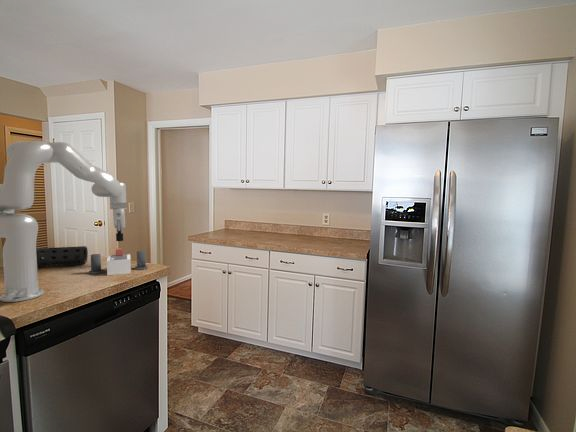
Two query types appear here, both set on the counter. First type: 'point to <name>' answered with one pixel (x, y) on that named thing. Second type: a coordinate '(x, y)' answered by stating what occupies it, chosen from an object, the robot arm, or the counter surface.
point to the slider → (119, 252)
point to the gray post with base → (95, 264)
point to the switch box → (118, 264)
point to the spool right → (141, 261)
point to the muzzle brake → (61, 256)
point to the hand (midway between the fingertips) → (119, 240)
